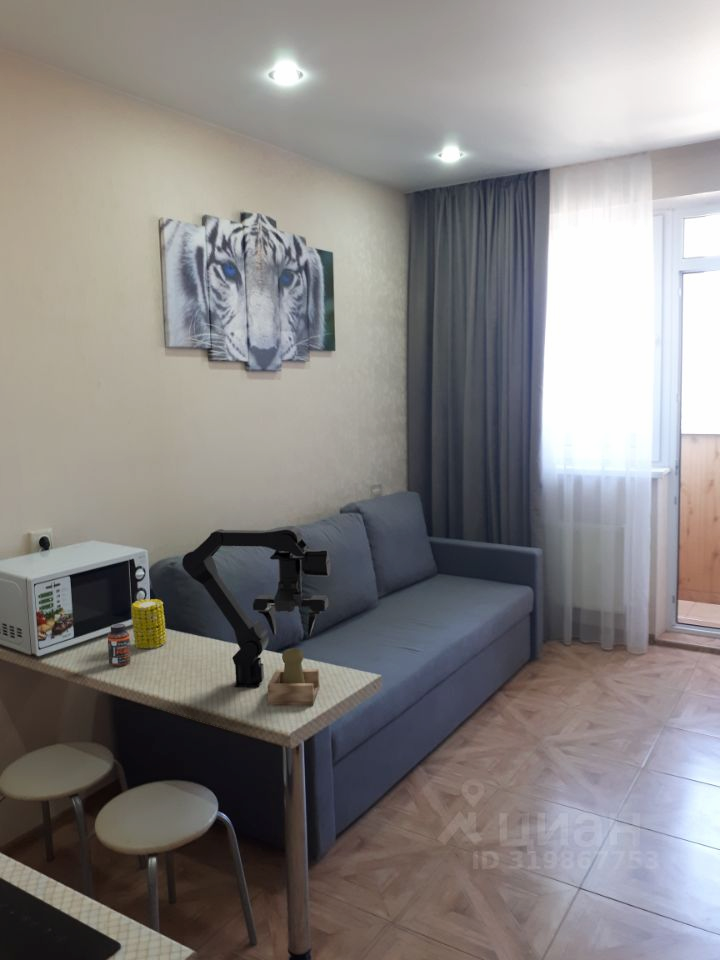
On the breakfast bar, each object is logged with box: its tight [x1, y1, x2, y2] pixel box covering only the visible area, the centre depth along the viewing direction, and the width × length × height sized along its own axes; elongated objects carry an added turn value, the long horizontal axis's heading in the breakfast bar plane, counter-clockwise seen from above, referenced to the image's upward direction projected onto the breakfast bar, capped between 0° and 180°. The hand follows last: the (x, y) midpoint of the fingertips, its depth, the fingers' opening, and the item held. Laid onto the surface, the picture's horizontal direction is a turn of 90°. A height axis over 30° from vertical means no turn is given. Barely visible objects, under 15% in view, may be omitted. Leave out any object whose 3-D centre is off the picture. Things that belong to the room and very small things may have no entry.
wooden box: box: [267, 669, 321, 707], centre depth 185 cm, size 11×12×5 cm
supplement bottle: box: [107, 623, 132, 667], centre depth 213 cm, size 6×6×11 cm
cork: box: [281, 647, 305, 683], centre depth 185 cm, size 6×6×11 cm
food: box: [130, 598, 167, 649], centre depth 229 cm, size 15×12×10 cm
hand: (291, 635), depth 193 cm, fingers open, 9 cm apart
